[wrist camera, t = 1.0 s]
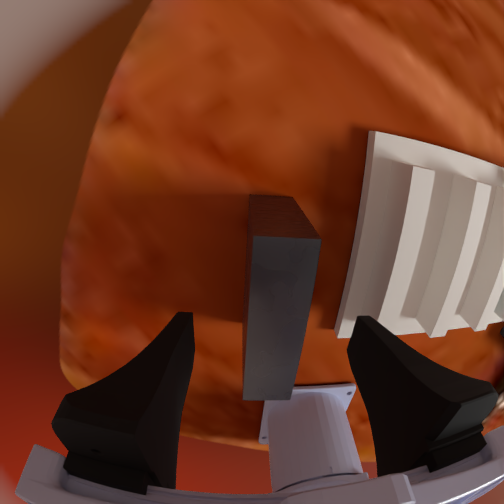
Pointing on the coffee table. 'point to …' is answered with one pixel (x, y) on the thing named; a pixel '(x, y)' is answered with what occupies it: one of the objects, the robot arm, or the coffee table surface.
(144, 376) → the robot arm
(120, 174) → the coffee table surface
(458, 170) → the rack
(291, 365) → the panel
